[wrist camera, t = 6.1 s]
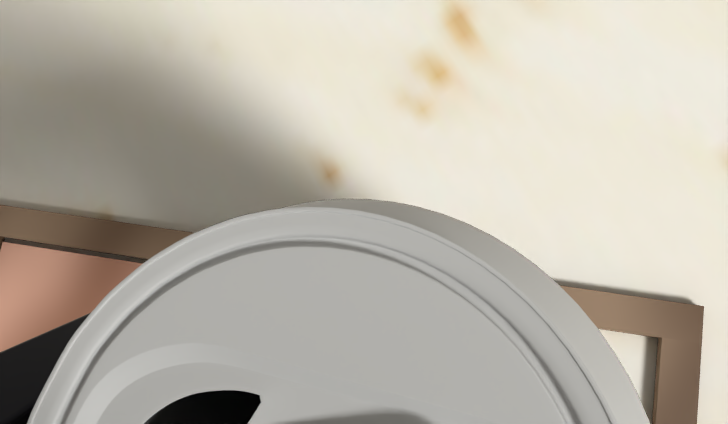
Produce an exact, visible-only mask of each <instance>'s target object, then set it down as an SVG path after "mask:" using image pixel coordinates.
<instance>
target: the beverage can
mask: <svg viewBox="0 0 728 424" xmlns="http://www.w3.org/2000/svg"><path fill="white" fill-rule="evenodd" d="M27 424H650V422H649V419H648V417H647V415H646V412H645V410H644V407H643V405H642V403H641V400H640V398H639V396H638V393H637V391H636V389H635V387H634V385H633V383H632V381H631V379H630V377H629V375H628V374H627V372H626V371H625V369H624V367H623V366H622V364H621V362H620V361H619V359H618V357H617V356H616V354H615V352H614V351H613V350H612V348H611V347H610V345H609V344H608V342H607V341H606V340H605V338H604V337H603V335H602V334H601V332H600V331H599V329H598V328H597V327H596V326H595V324H594V323H593V322H592V321H591V320H590V318H589V317H588V316H587V315H586V313H585V312H584V311H583V310H582V309H581V307H580V306H579V305H578V304H577V303H576V302H575V301H574V300H573V299H572V298H571V297H570V296H569V295H568V294H567V293H566V292H565V291H564V290H563V289H562V288H561V287H560V286H559V284H557V283H556V282H555V281H554V280H553V279H552V278H551V277H549V276H548V275H547V274H546V273H545V272H544V271H542V270H541V269H540V268H539V267H538V266H537V265H535V264H534V263H533V262H531V261H530V260H528V259H527V258H526V257H524V256H523V255H522V254H520V253H519V252H517V251H516V250H515V249H513V248H511V247H510V246H508V245H506V244H505V243H503V242H502V241H500V240H498V239H497V238H495V237H493V236H492V235H490V234H488V233H486V232H484V231H482V230H480V229H478V228H476V227H473V226H471V225H469V224H467V223H465V222H462V221H460V220H457V219H455V218H452V217H449V216H447V215H444V214H441V213H438V212H435V211H431V210H428V209H424V208H421V207H417V206H412V205H407V204H402V203H397V202H390V201H380V200H371V199H333V200H320V201H313V202H307V203H302V204H297V205H292V206H287V207H283V208H279V209H272V210H266V211H261V212H256V213H251V214H246V215H242V216H239V217H235V218H232V219H229V220H226V221H223V222H221V223H218V224H215V225H212V226H210V227H207V228H205V229H203V230H200V231H198V232H196V233H193V234H191V235H189V236H187V237H185V238H183V239H181V240H179V241H177V242H176V243H174V244H172V245H171V246H169V247H167V248H166V249H164V250H162V251H161V252H159V253H158V254H156V255H154V256H153V257H151V258H150V259H148V260H147V261H145V262H144V263H143V264H142V265H140V266H139V267H138V268H137V269H135V270H134V271H133V272H132V273H131V274H130V275H128V276H127V277H126V278H125V279H124V280H123V281H121V282H120V283H119V284H118V285H117V286H116V287H115V288H113V289H112V290H111V291H110V292H109V293H108V294H107V295H106V296H105V297H104V299H103V300H102V301H101V302H100V303H99V304H98V305H97V306H96V308H95V309H94V310H93V311H92V312H91V313H90V315H89V316H88V317H87V318H86V319H85V320H84V322H83V323H82V324H81V325H80V327H79V328H78V329H77V330H76V332H75V333H74V335H73V336H72V337H71V339H70V340H69V342H68V344H67V345H66V347H65V349H64V350H63V352H62V354H61V356H60V357H59V359H58V361H57V363H56V365H55V367H54V368H53V370H52V372H51V374H50V376H49V378H48V380H47V382H46V384H45V385H44V387H43V389H42V391H41V393H40V395H39V397H38V399H37V401H36V403H35V405H34V408H33V410H32V412H31V414H30V417H29V419H28V422H27Z"/></svg>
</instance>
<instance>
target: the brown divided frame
mask: <svg viewBox="0 0 728 424" xmlns="http://www.w3.org/2000/svg"><path fill="white" fill-rule="evenodd" d="M191 234H193V233H192V232H185V231H178V230H171V229H164V228H157V227H151V226H144V225H137V224H130V223H123V222H116V221H109V220H102V219H95V218H88V217H81V216H74V215H67V214H60V213H53V212H46V211H40V210H33V209H26V208H19V207H12V206H5V205H0V352H2V351H4V350H6V349H9V348H11V347H13V346H15V345H18V344H20V343H22V342H25V341H27V340H29V339H31V338H34V337H36V336H38V335H41V334H43V333H45V332H47V331H50V330H52V329H54V328H57V327H59V326H61V325H63V324H66V323H68V322H70V321H73V320H75V319H77V318H79V317H82V316H84V315H86V314H89V313H91V312H92V311H93V310H94V309H95V308H96V306H97V305H98V304H99V303H100V302H101V301H102V300H103V299H104V297H105V296H106V295H107V294H108V293H109V292H110V291H111V290H112V289H113V288H115V287H116V286H117V285H118V284H119V283H120V282H121V281H123V280H124V279H125V278H126V277H127V276H128V275H130V274H131V273H132V272H133V271H134V270H135V269H137V268H138V267H139V266H140V265H142V264H143V263H136V262H130V261H123V260H117V259H111V258H104V257H98V256H91V255H85V254H78V253H72V252H65V251H59V250H53V249H46V248H40V247H33V246H27V245H20V244H14V243H7V242H4V238H12V239H18V240H25V241H31V242H38V243H44V244H51V245H57V246H64V247H70V248H77V249H83V250H90V251H96V252H103V253H109V254H116V255H122V256H129V257H135V258H142V259H150V258H151V257H153V256H154V255H156V254H158V253H159V252H161V251H162V250H164V249H166V248H167V247H169V246H171V245H172V244H174V243H176V242H177V241H179V240H181V239H183V238H185V237H187V236H189V235H191ZM559 286H560V285H559ZM560 287H561V288H562V289H563V290H564V291H565V292H566V293H567V294H568V295H569V296H570V297H571V298H572V299H573V300H574V301H575V302H576V303H577V304H578V305H579V306H580V307H581V309H582V310H583V311H584V312H585V313H586V315H587V316H588V317H589V318H590V320H591V321H592V322H593V323H594V324H595V326H596V327H597V328H598V329H604V330H610V331H617V332H623V333H630V334H636V335H643V336H649V337H656V338H658V350H657V363H656V377H655V390H654V404H653V417H652V424H697V411H698V394H699V378H700V362H701V346H702V329H703V313H704V306H699V305H692V304H685V303H678V302H671V301H664V300H657V299H650V298H643V297H636V296H629V295H622V294H615V293H608V292H601V291H595V290H588V289H581V288H574V287H567V286H560Z"/></svg>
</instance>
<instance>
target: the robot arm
mask: <svg viewBox="0 0 728 424" xmlns="http://www.w3.org/2000/svg"><path fill="white" fill-rule="evenodd" d="M89 315H90V313H89V314H86V315H84V316H82V317H79V318H77V319H75V320H73V321H70V322H68V323H66V324H63V325H61V326H59V327H57V328H54V329H52V330H50V331H47V332H45V333H43V334H41V335H38V336H36V337H34V338H31V339H29V340H27V341H25V342H22V343H20V344H18V345H15V346H13V347H11V348H9V349H6V350H4V351H2V352H0V424H27V422H28V419H29V417H30V414H31V412H32V410H33V408H34V405H35V403H36V401H37V399H38V397H39V395H40V393H41V391H42V389H43V387H44V385H45V384H46V382H47V380H48V378H49V376H50V374H51V372H52V370H53V368H54V367H55V365H56V363H57V361H58V359H59V357H60V356H61V354H62V352H63V350H64V349H65V347H66V345H67V344H68V342H69V340H70V339H71V337H72V336H73V335H74V333H75V332H76V330H77V329H78V328H79V327H80V325H81V324H82V323H83V322H84V320H85V319H86V318H87V317H88V316H89Z"/></svg>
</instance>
